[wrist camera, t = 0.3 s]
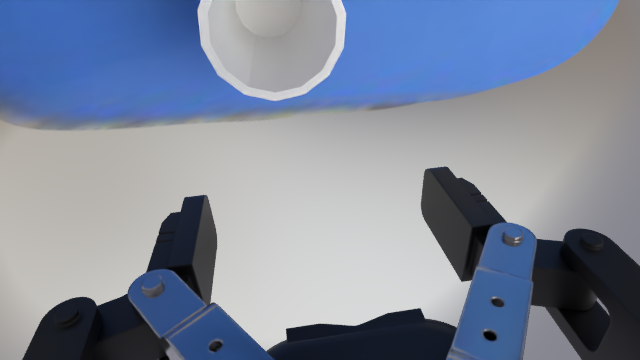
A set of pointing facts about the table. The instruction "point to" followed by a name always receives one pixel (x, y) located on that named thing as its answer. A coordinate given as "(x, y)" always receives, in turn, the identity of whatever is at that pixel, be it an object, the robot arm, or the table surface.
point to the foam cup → (272, 43)
